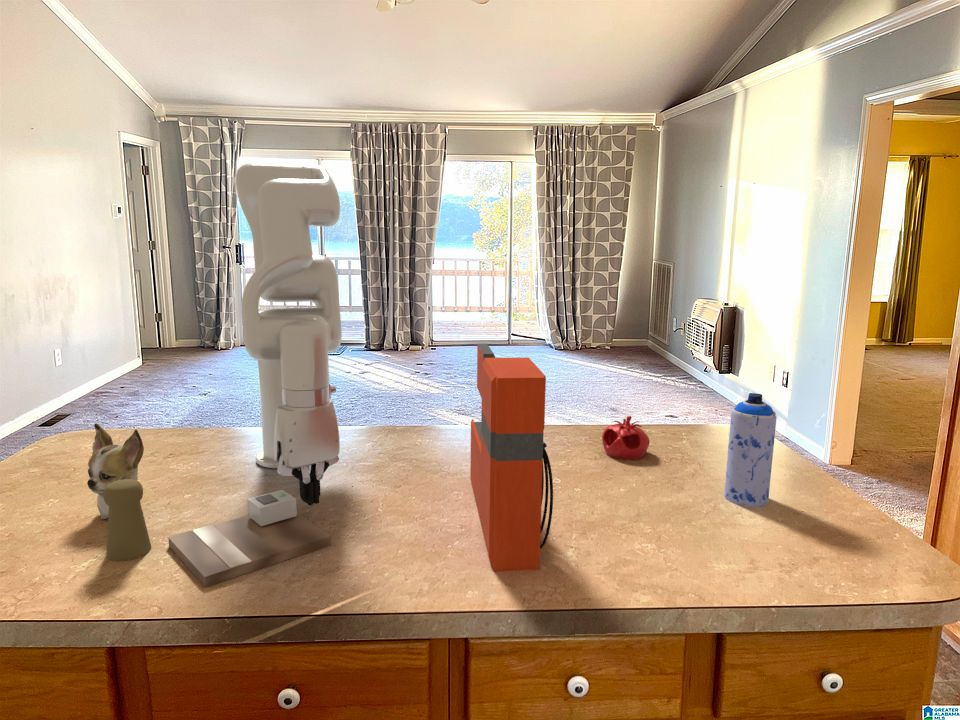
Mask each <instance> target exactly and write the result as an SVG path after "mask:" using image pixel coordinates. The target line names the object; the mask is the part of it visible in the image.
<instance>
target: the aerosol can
mask: <svg viewBox="0 0 960 720" xmlns="http://www.w3.org/2000/svg"><path fill="white" fill-rule="evenodd" d="M776 415H777V413H776V411H775V410H774V409H773V407H772V406H771V405H770V404H767V403H766V402H765V401H764V400H763V394H761V393H755V392H750V393H748V396H747V399H744V400H743V401H740V402H738V403H737V404H736V406H734V407H733V408H732V410H731V412H730V421H729V422H730V423H729V434H728V446H727V458H726V459H727V460H726V471H725V481H724V490H723V491H724V493H723V496H724V498H725V499H726V500H727V501H728V502H729V503H731V504H734V505H736V506H739V507H744V508H745V507H746V508H762V507H766V506H767V504H768V503H769V495H770V488H771V478H772V477H771V476H772V468H773V458H774V457H773V456H774V446H775V437H776V436H775V435H776V427H777V416H776Z"/></svg>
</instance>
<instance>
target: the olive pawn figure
mask: <svg viewBox="0 0 960 720" xmlns="http://www.w3.org/2000/svg"><path fill="white" fill-rule="evenodd" d="M143 496H144V487H143V485H142V483H141V482H139V480H138V481H137V480H133V479H123V480H118V481H115V482H112V483H110V484H109V485H107V486H106V488H105V490H104V494H103V497H104V501H105V503H106V504H107V505H108V506H109V516H108V518H107V519H108V521H107V539H106V558H107V560H109V561H115V562H125V561H130V560H131V561H132V560H136V559H138V558H141V557H143V556H145V555H147V554H148V553H150V551H151V550H152V543H151V540H150V535H149V531H148V527H147V523H146V520H145V516H144V512H143V507H142V503H141V500H142V499H143Z"/></svg>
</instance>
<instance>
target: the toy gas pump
mask: <svg viewBox="0 0 960 720" xmlns="http://www.w3.org/2000/svg"><path fill="white" fill-rule="evenodd" d="M476 354H477V355H476V357H477V358H476V359H477V361H476V363H477V364H476V388H477V391H478V392H479V395H480V398H481V420H480V421H474V419H473V418H472V419H471V421H470V475H469V477H470V483H471V488H472V492H473V496H474V500H475V505H476V509H477V512H478V518H479V521H480V526H481V530H482V535H483V538H484V539H483V540H484V543H485V546H486V547H485V548H486V552H487V556H488V559H489V561H490V563H491V565H492V568H493V571H494V572H516V571H533V570H540V567H541V566H540V564H541V563H540V561H541V560H540V559H541V550H542V549H543V548H544V546H545V544H546V542H547V540H548V537H549V534H550V531H551V524H552V518H553V517H552V516H553V510H554V508H553V507H554V505H553V504H554V483H553V474H552V472H553V471H552V467H551V463H550V458H549V456H548V453H547V450H546V448H547V447H548V445H547V444H546V442H544V430H545V423H546V422H545V418H546V416H545V415H546V414H545V412H546V387H547V386H546V385H547V384H546V383H547V381H546V380H547V377H546V374H544V372H542V371H541V369H540V368H539V367H538V366H537V365H536V363H534V362H533V360H532V359H531V358H530V357H526V356H525V357H496V355H495V354H494V352H493V351H492V348H491V347H490V346H489V345H488V343H477V352H476ZM544 481H545V482H544ZM544 484H545V485H544ZM544 486H545V495H544ZM543 499H544V508H543V514H542V507H543V506H542V504H543ZM548 501H549V502H548ZM548 504H549V510H548ZM547 511H549V512H547ZM547 513H548V521H547V524H546V519H547V518H546V517H547ZM545 524H546V531H545V533H544V534H545V535H544V537H543V540H542V542H541V534H542V532H543V529H544V527H545Z"/></svg>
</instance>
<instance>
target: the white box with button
mask: <svg viewBox="0 0 960 720" xmlns="http://www.w3.org/2000/svg"><path fill="white" fill-rule="evenodd" d="M246 501H247V515H248V516H249V517H250V518H251V519H253V520H254V521H255V522H256V523H258V524H259V525H260V526H264V525H267V524H271V523H274V522H278V521H281V520H285V519H288V518H291V517H295V516H297V513H298V512H297V498H296V497H294V496H293V495H291V494H290V493H288V492H287V491H285V490H284V489H280V490H279V489H278V490H275V491H272V492H267V493H264V494H260V495H257V496H252V497H249V498H247V500H246Z"/></svg>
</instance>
